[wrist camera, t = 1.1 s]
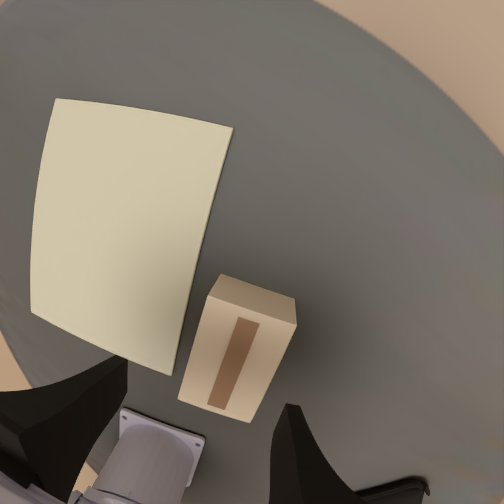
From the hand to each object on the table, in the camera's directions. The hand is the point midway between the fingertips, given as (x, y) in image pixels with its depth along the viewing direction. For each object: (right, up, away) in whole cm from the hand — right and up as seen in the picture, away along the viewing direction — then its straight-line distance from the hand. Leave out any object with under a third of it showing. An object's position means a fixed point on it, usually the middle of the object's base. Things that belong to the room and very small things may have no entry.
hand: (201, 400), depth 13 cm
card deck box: (+1, +1, +9) cm, 9 cm away
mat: (-8, +8, +8) cm, 14 cm away
